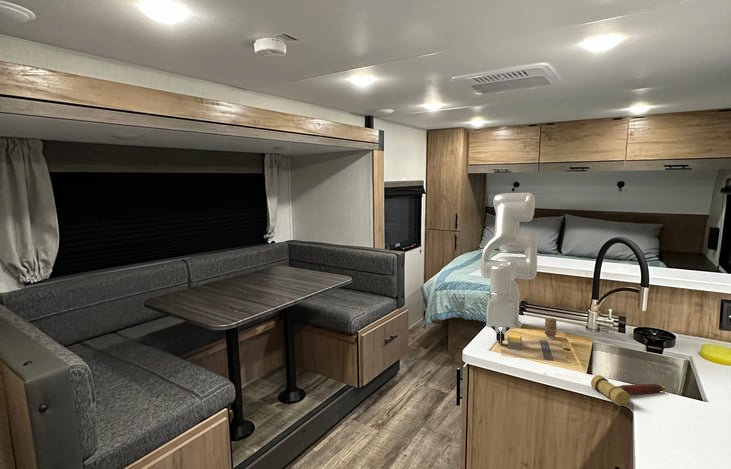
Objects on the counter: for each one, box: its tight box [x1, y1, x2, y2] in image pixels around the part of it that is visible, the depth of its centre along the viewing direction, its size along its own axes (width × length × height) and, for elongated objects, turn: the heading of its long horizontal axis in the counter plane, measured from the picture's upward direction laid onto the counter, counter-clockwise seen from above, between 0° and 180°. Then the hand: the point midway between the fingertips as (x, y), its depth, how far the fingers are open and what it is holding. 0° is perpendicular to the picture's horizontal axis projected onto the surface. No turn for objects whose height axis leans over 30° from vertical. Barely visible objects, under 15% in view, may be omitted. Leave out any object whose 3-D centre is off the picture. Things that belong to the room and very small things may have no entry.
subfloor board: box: [500, 336, 569, 364], centre depth 146 cm, size 19×22×2 cm
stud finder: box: [507, 334, 522, 350], centre depth 148 cm, size 7×5×3 cm
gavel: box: [590, 374, 667, 407], centre depth 115 cm, size 21×5×10 cm
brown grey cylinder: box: [544, 317, 557, 340], centre depth 155 cm, size 4×4×9 cm
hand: (500, 342), depth 150 cm, fingers closed
